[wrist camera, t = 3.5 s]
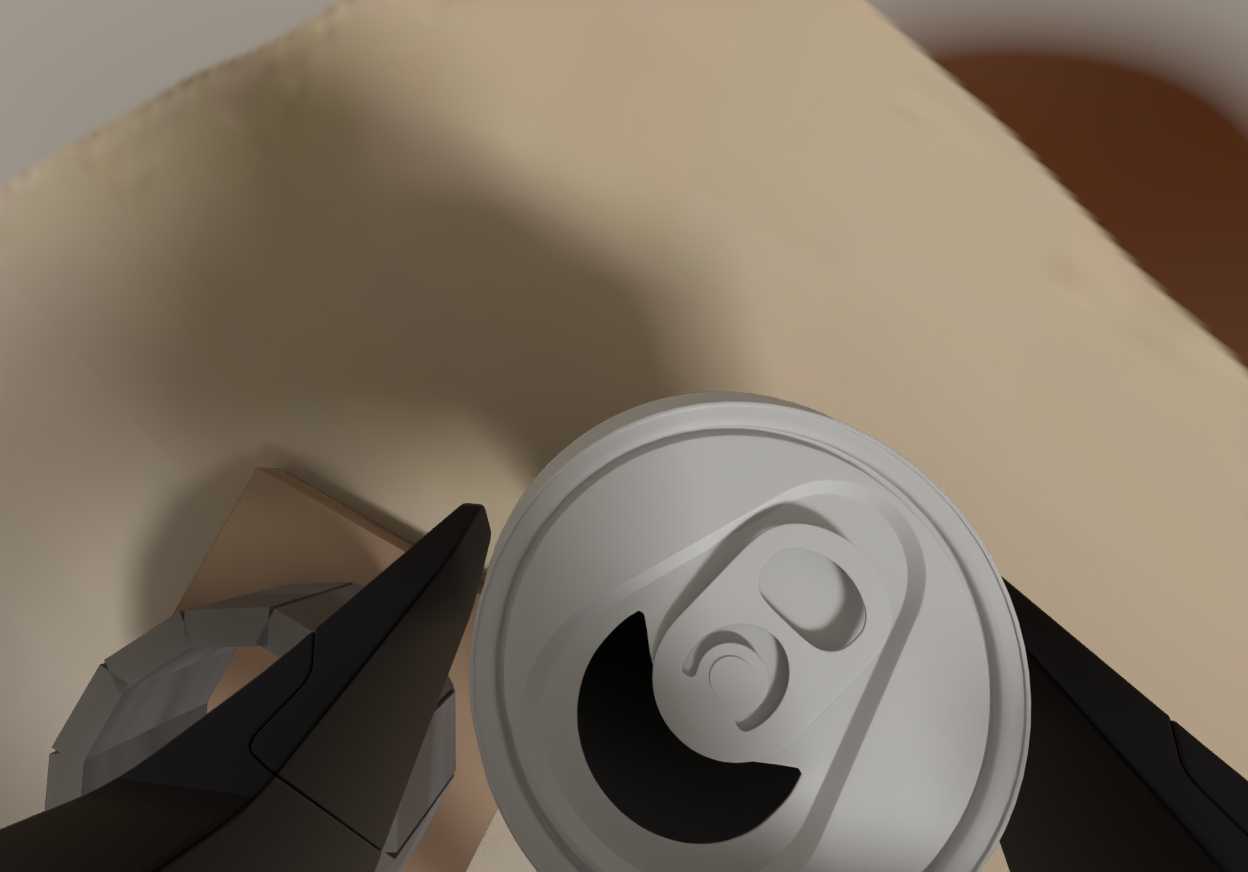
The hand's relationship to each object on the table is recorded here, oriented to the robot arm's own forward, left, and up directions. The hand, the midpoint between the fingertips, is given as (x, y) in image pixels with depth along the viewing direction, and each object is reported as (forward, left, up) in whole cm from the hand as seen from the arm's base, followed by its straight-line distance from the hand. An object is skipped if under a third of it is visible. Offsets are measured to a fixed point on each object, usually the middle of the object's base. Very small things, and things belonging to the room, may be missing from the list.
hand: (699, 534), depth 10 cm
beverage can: (-1, 0, -7) cm, 7 cm away
